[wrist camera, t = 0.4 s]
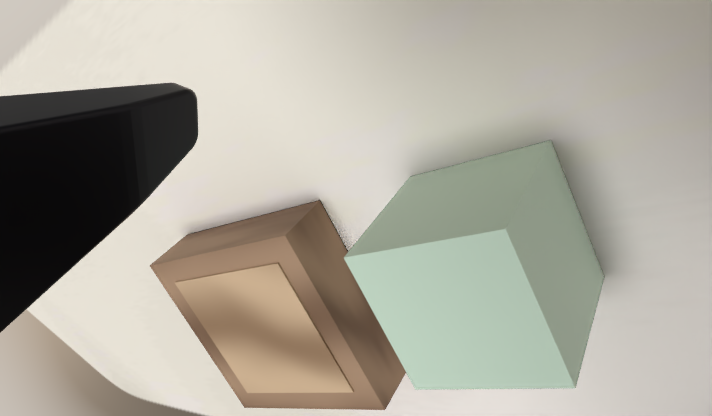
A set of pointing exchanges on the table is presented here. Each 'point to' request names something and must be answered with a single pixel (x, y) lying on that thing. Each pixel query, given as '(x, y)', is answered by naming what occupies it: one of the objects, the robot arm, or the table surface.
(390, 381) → the walnut base
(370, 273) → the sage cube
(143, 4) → the table surface
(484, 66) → the table surface
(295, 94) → the table surface
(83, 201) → the robot arm
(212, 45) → the table surface
